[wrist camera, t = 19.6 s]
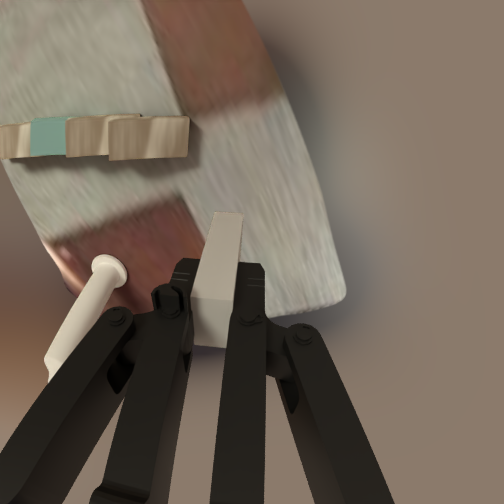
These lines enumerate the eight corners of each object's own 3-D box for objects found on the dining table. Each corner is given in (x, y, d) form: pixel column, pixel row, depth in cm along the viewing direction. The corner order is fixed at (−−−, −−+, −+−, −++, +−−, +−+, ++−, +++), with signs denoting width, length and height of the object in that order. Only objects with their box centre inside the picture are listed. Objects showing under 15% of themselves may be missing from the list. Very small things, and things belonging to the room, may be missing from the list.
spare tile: (96, 149, 37) (34, 151, 33) (99, 116, 35) (35, 118, 30) (94, 154, 36) (30, 156, 31) (97, 119, 33) (30, 121, 29)
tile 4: (50, 152, 36) (1, 154, 33) (50, 120, 33) (0, 125, 31) (44, 156, 34) (-5, 159, 31) (44, 123, 32) (-7, 128, 29)
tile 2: (138, 148, 38) (69, 152, 34) (140, 113, 35) (68, 117, 31) (138, 153, 36) (66, 157, 32) (139, 116, 33) (65, 121, 29)
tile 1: (185, 152, 38) (110, 155, 35) (187, 116, 35) (110, 118, 32) (187, 157, 36) (108, 160, 33) (189, 118, 33) (108, 122, 30)
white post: (127, 289, 52) (77, 407, 31) (94, 280, 51) (35, 389, 31) (127, 259, 48) (64, 383, 27) (91, 249, 47) (19, 363, 27)
